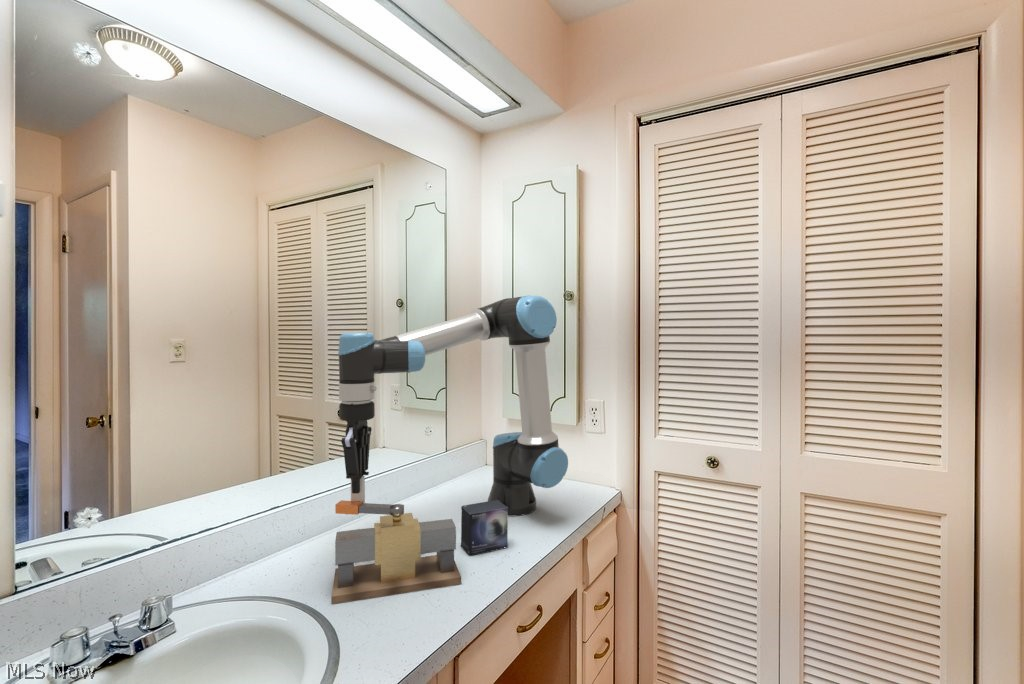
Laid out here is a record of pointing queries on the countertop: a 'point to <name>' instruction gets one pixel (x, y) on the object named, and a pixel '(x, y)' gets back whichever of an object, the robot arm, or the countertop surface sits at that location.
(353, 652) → the countertop surface
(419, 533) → the valve
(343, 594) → the base board
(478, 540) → the small box
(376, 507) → the valve lever
